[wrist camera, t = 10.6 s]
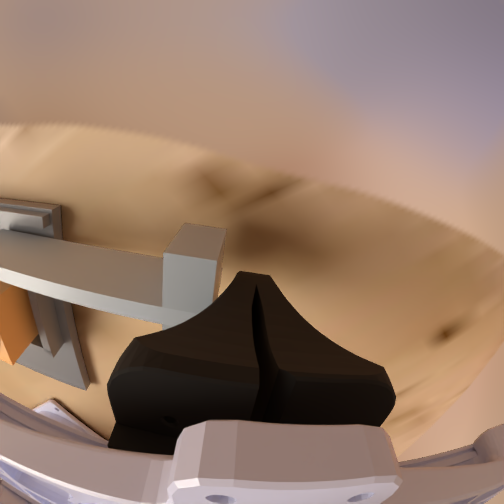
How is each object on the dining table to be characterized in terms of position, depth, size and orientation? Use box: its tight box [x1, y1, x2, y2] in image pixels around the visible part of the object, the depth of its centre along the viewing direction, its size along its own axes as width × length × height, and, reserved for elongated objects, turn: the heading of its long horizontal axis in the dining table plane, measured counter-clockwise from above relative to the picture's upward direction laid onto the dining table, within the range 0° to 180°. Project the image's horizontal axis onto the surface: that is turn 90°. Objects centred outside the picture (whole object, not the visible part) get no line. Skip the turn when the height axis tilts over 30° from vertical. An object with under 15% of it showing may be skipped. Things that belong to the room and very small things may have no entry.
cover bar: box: [0, 223, 227, 330], centre depth 11 cm, size 13×3×4 cm, turn 81°
